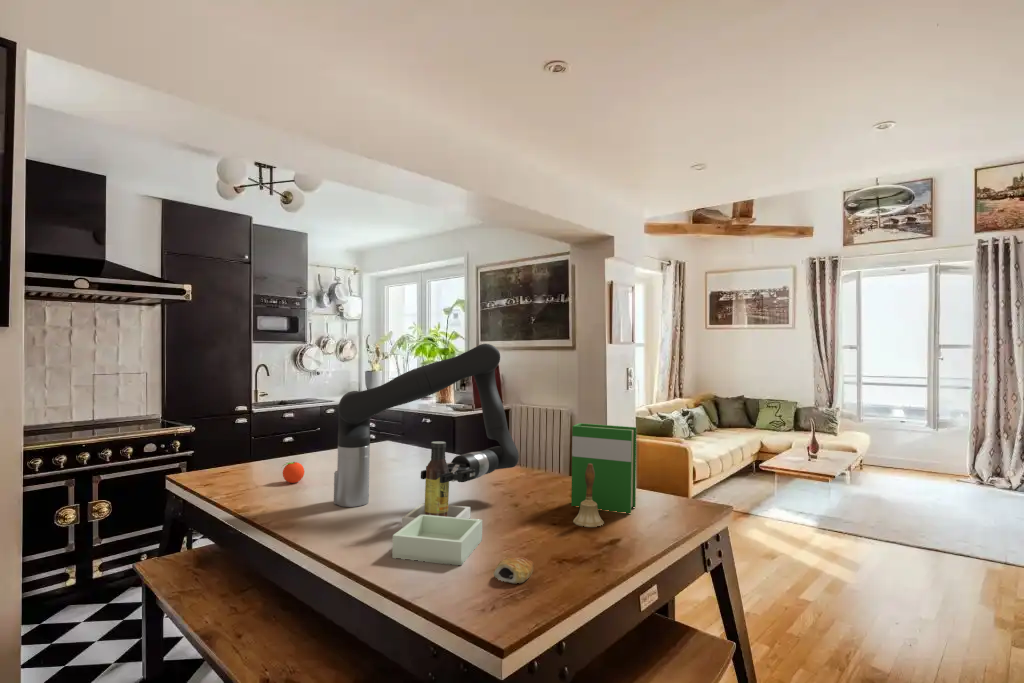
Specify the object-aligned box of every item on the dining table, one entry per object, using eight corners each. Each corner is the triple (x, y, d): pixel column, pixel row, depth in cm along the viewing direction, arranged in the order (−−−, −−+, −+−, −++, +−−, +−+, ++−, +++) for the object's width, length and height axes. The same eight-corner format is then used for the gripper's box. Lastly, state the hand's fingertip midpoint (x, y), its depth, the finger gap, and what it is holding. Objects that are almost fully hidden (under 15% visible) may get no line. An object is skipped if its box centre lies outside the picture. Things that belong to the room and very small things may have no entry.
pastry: (514, 564, 118) (514, 547, 118) (541, 571, 114) (542, 553, 114) (491, 580, 110) (491, 561, 110) (520, 588, 106) (520, 568, 106)
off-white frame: (401, 529, 139) (401, 517, 139) (422, 513, 152) (422, 502, 152) (453, 534, 135) (453, 522, 136) (470, 517, 149) (470, 506, 149)
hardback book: (635, 507, 161) (636, 427, 162) (630, 514, 155) (631, 430, 155) (578, 500, 169) (579, 423, 169) (571, 506, 162) (572, 426, 162)
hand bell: (585, 516, 153) (586, 459, 153) (610, 523, 147) (611, 464, 147) (566, 522, 147) (567, 463, 147) (591, 530, 141) (592, 468, 141)
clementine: (278, 486, 180) (279, 464, 180) (279, 481, 186) (279, 460, 186) (304, 484, 183) (304, 463, 183) (304, 479, 189) (304, 459, 189)
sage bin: (392, 558, 120) (392, 535, 120) (420, 534, 135) (420, 514, 135) (461, 565, 116) (461, 542, 116) (481, 540, 132) (482, 519, 132)
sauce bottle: (443, 521, 140) (445, 445, 140) (420, 519, 141) (422, 443, 142) (451, 514, 146) (453, 441, 147) (429, 512, 148) (431, 439, 148)
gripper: (451, 450, 160) (411, 459, 146) (490, 456, 152) (452, 466, 138) (450, 475, 160) (410, 487, 146) (490, 483, 152) (452, 496, 138)
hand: (431, 477), depth 142 cm, fingers closed on sauce bottle, 6 cm apart
